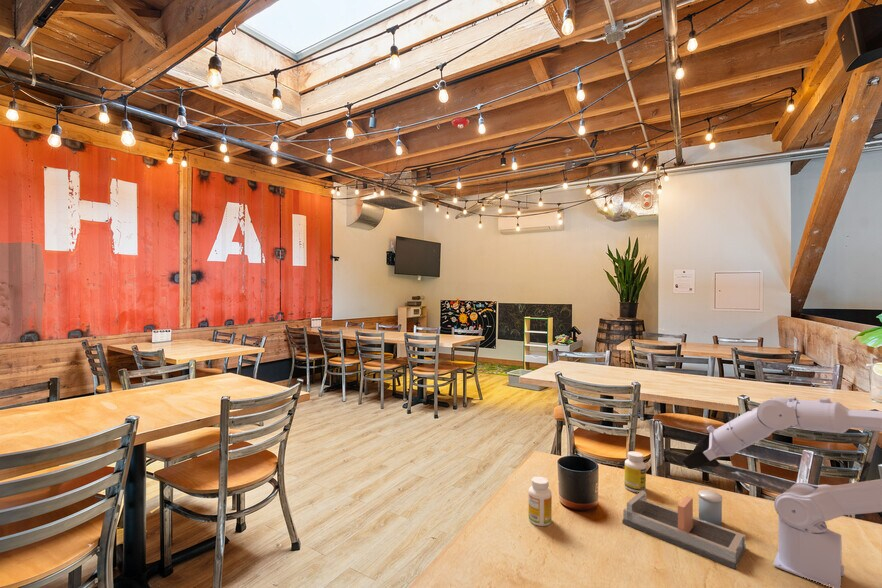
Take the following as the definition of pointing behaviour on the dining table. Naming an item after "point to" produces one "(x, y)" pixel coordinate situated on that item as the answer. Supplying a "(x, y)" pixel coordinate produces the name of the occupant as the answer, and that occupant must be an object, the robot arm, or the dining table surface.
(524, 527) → the dining table surface
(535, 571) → the dining table surface
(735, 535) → the pusher lane
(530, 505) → the supplement bottle
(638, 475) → the supplement bottle
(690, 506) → the plate
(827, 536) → the robot arm
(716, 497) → the jar
